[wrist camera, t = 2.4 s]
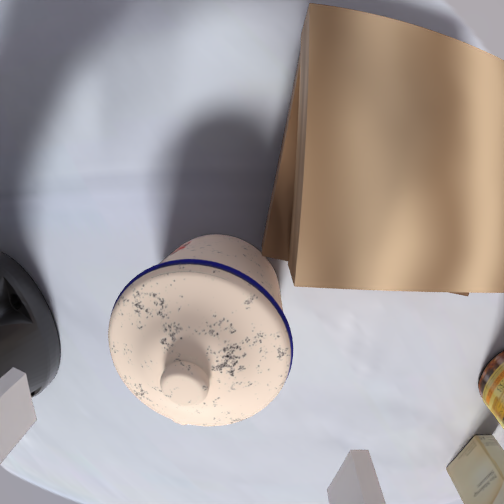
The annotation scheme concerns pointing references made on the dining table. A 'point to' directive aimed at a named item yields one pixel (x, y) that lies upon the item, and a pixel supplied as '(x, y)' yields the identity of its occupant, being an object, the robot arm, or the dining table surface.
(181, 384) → the teacup with lid
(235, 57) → the dining table surface
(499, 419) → the sauce bottle
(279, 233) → the tower base block
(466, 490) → the skincare box
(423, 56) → the tower top block
